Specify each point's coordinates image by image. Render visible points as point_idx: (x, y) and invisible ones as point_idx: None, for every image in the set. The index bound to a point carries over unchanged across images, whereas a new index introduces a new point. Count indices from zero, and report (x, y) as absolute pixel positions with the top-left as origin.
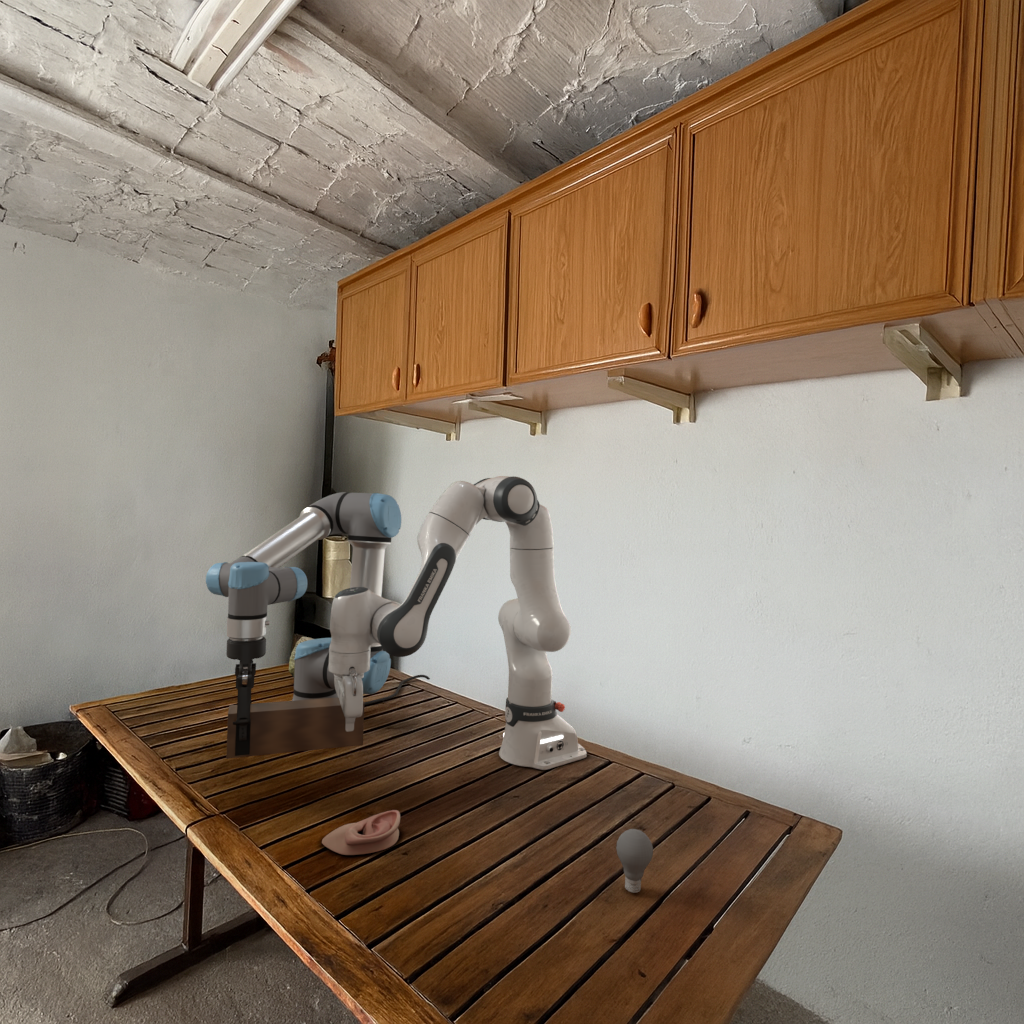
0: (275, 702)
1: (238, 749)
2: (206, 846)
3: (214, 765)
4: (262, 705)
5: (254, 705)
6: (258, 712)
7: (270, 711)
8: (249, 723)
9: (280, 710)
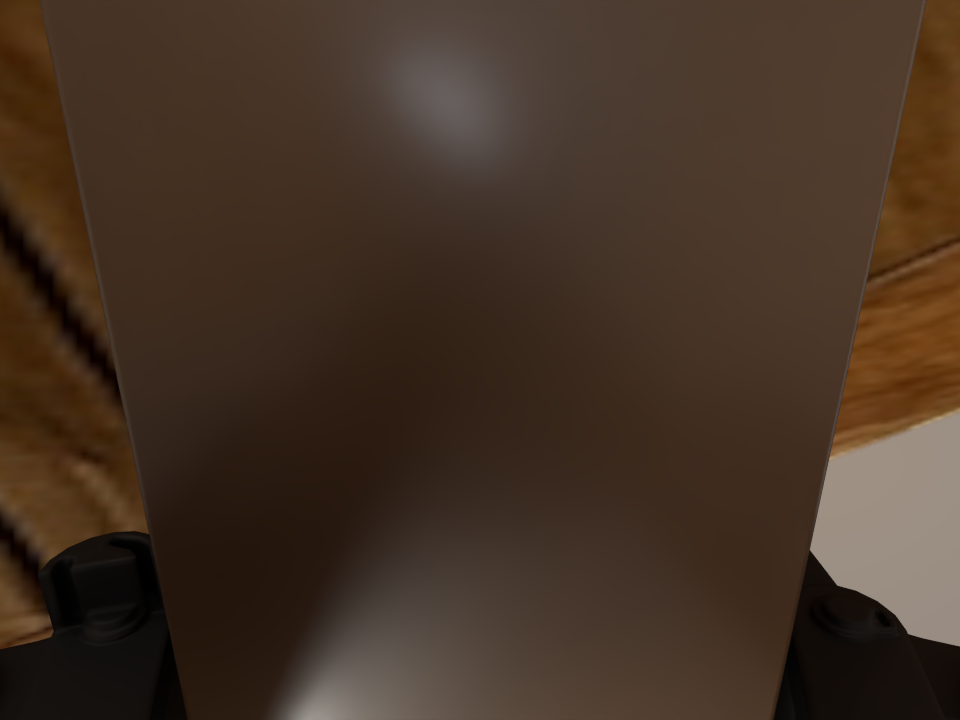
0: (135, 170)
1: None
2: (910, 428)
3: (18, 454)
4: (361, 501)
5: (327, 653)
6: (804, 564)
7: (847, 310)
8: (848, 592)
9: (910, 22)
